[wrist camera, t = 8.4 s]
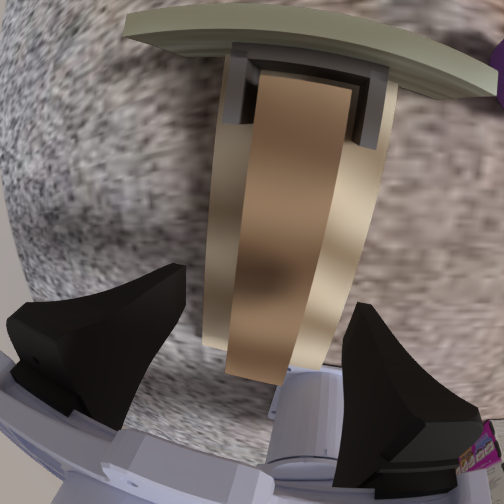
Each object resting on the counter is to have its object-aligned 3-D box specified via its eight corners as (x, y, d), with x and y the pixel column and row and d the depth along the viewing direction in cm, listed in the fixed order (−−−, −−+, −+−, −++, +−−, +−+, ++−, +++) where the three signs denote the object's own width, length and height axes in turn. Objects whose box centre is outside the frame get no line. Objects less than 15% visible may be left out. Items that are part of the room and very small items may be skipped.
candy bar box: (463, 458, 28) (473, 543, 14) (441, 459, 29) (448, 551, 14) (510, 416, 23) (534, 512, 9) (489, 417, 24) (512, 523, 9)
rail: (288, 347, 22) (282, 386, 19) (238, 336, 23) (225, 372, 19) (344, 96, 14) (352, 89, 11) (272, 84, 15) (260, 74, 11)
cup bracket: (352, 367, 23) (354, 435, 17) (174, 327, 26) (138, 384, 19) (440, 82, 13) (498, 71, 7) (187, 40, 15) (126, 14, 9)
